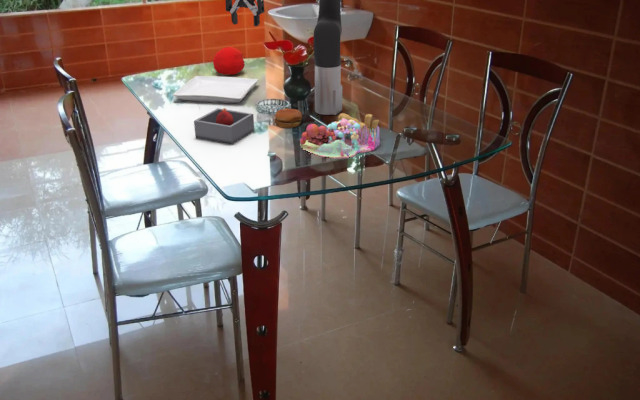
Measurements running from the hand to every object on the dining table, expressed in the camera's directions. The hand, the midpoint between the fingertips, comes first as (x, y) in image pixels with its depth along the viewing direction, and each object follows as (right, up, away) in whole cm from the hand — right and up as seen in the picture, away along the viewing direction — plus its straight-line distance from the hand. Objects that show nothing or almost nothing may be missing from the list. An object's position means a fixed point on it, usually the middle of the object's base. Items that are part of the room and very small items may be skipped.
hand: (245, 25), depth 225 cm
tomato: (-13, -7, +55) cm, 56 cm away
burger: (+15, -35, -2) cm, 38 cm away
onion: (-5, -39, -12) cm, 41 cm away
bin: (-5, -40, -12) cm, 42 cm away
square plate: (-14, -20, +29) cm, 38 cm away
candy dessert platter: (+33, -44, -19) cm, 58 cm away
